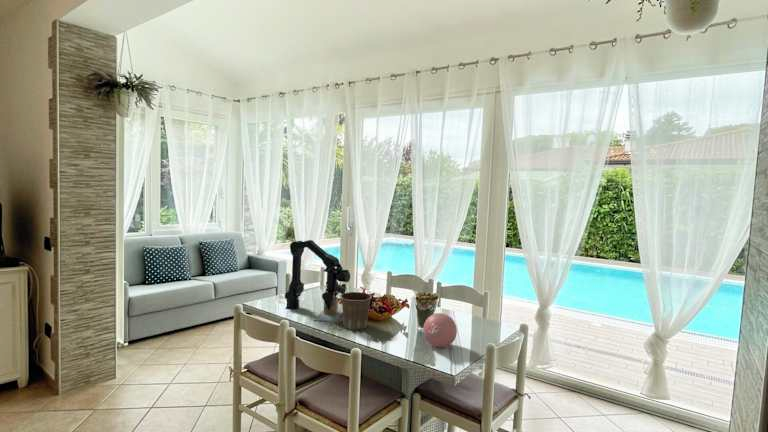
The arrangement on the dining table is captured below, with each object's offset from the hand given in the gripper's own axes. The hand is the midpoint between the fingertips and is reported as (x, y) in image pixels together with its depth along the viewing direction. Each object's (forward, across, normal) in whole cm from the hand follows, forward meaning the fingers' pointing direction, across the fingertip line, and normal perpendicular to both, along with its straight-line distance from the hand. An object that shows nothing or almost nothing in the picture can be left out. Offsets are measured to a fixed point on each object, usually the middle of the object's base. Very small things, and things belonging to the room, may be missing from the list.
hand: (330, 307), depth 229 cm
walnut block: (+4, 0, 0) cm, 4 cm away
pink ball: (+4, -38, -59) cm, 70 cm away
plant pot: (+4, -17, -17) cm, 24 cm away
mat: (+4, -4, 0) cm, 6 cm away
